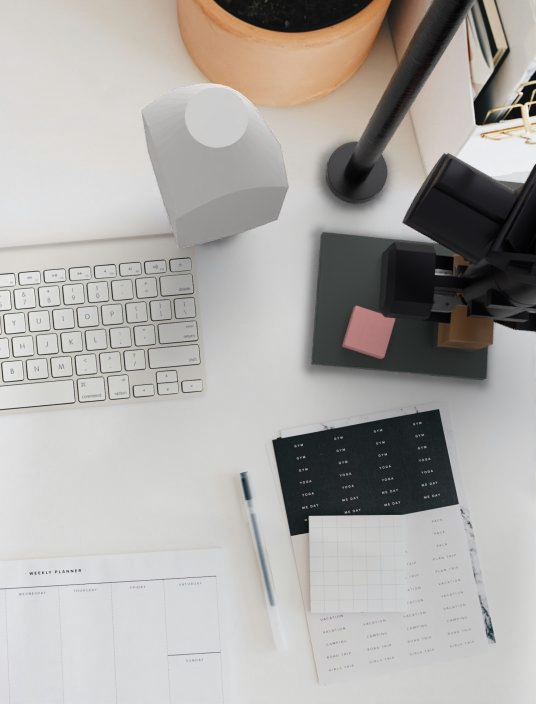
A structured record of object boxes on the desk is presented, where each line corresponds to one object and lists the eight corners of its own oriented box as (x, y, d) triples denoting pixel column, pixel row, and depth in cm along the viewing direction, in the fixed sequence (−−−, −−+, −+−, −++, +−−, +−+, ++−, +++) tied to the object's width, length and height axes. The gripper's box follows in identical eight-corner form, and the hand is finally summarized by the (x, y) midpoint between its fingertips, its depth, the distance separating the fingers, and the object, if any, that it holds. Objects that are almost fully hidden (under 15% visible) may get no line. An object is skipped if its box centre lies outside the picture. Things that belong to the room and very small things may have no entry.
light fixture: (270, 240, 73) (297, 159, 53) (180, 266, 72) (173, 195, 52) (242, 152, 74) (258, 41, 54) (152, 178, 73) (135, 74, 53)
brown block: (476, 272, 73) (497, 258, 68) (472, 352, 72) (493, 344, 67) (436, 268, 73) (454, 254, 68) (432, 348, 72) (449, 340, 67)
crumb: (392, 320, 72) (395, 318, 71) (381, 359, 71) (384, 357, 70) (353, 307, 72) (355, 305, 71) (341, 346, 71) (344, 344, 70)
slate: (488, 251, 74) (492, 248, 73) (482, 380, 73) (486, 379, 72) (320, 234, 73) (322, 231, 72) (311, 364, 72) (312, 363, 71)
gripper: (650, 178, 57) (554, 237, 73) (413, 153, 57) (367, 218, 72) (647, 319, 56) (550, 348, 72) (405, 296, 55) (359, 331, 71)
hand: (457, 308), depth 72 cm, fingers open, 4 cm apart
